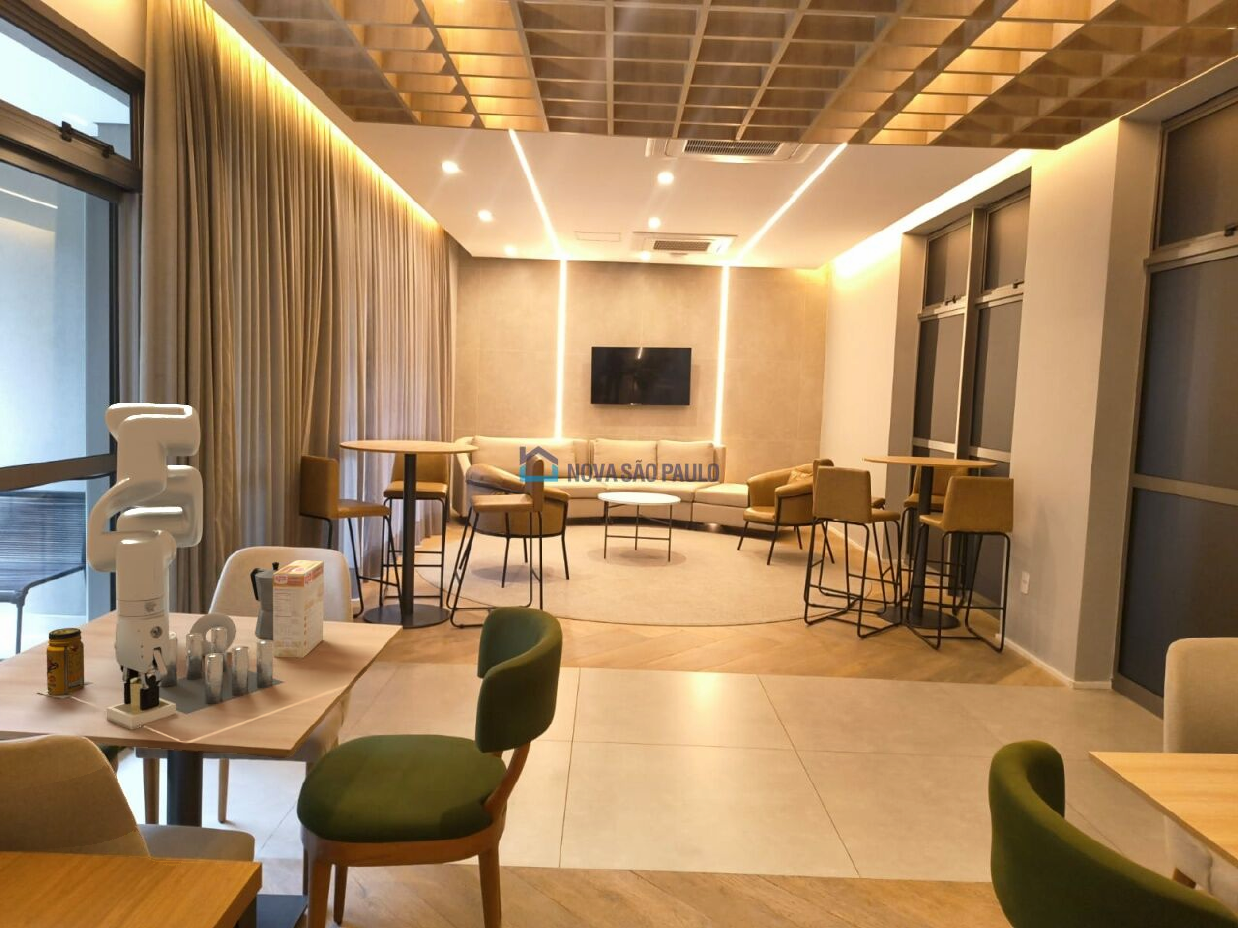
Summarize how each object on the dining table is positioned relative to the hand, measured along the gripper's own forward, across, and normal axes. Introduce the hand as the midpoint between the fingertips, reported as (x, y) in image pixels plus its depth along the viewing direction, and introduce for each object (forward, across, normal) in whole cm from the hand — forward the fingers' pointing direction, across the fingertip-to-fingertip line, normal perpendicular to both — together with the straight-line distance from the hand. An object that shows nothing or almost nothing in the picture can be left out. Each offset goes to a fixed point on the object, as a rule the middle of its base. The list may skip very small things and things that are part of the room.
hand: (141, 703), depth 149 cm
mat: (+3, +3, -16) cm, 16 cm away
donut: (+3, +21, -28) cm, 35 cm away
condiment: (+3, +24, 0) cm, 25 cm away
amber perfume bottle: (+2, 0, -1) cm, 2 cm away
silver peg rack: (+3, +3, -17) cm, 18 cm away
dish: (+3, 0, 0) cm, 3 cm away
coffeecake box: (+3, +11, -43) cm, 45 cm away
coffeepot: (+3, +26, -47) cm, 54 cm away
